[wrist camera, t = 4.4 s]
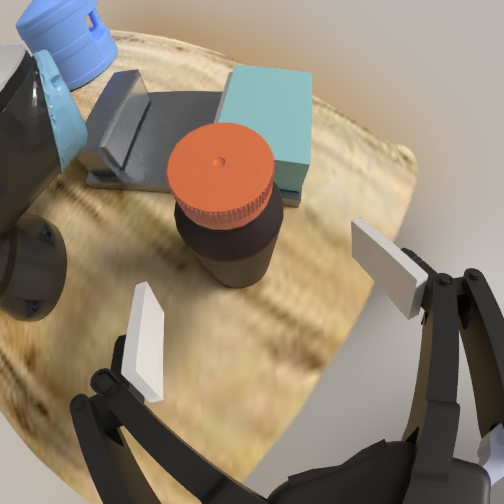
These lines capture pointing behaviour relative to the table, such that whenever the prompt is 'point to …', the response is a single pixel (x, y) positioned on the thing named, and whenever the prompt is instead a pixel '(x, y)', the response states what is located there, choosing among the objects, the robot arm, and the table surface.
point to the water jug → (69, 38)
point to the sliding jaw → (273, 115)
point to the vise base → (144, 134)
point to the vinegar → (226, 200)
